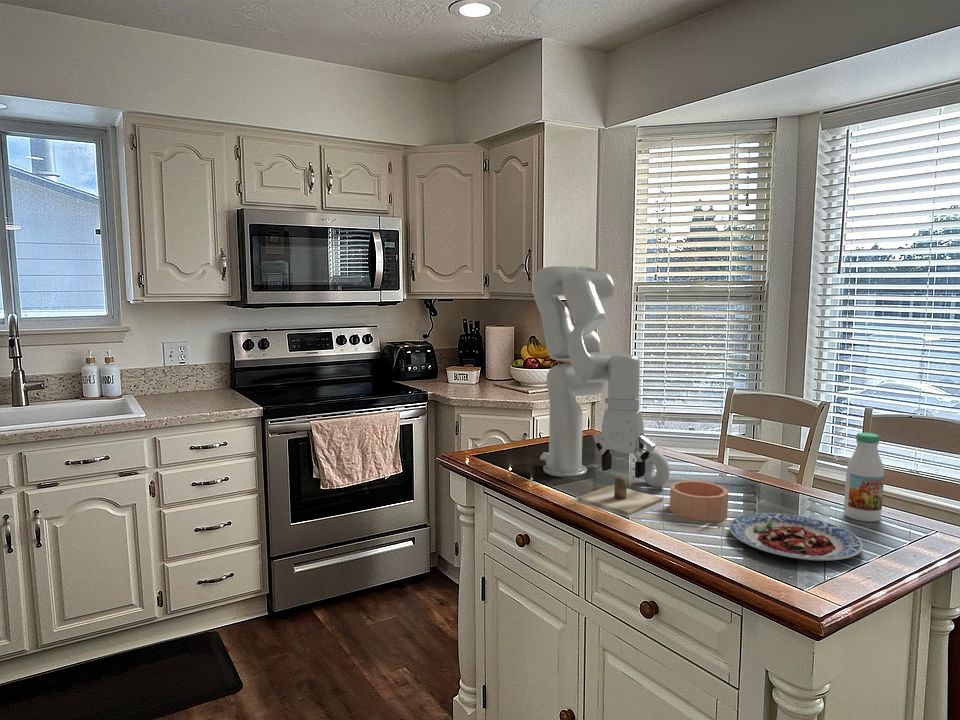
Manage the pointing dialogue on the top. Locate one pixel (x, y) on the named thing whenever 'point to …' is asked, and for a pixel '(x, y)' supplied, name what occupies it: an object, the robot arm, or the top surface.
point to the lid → (620, 498)
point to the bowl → (699, 500)
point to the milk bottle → (864, 480)
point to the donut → (661, 467)
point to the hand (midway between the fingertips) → (622, 473)
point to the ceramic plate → (795, 536)
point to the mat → (624, 514)
